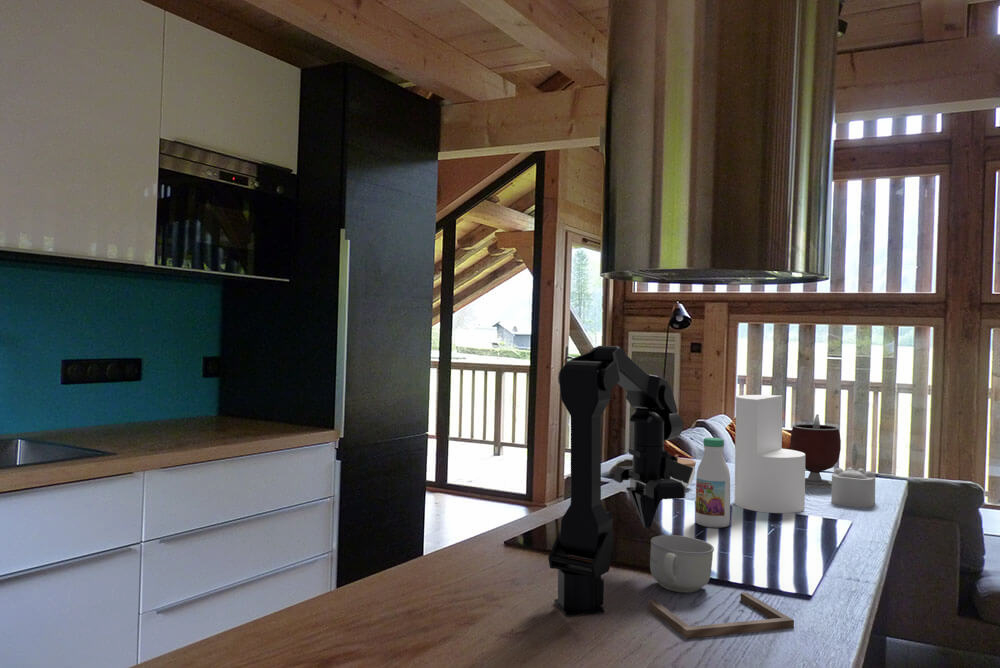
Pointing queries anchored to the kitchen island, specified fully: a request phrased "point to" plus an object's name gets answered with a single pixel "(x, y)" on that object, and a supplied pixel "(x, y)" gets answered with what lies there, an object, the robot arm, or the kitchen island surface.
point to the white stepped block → (766, 459)
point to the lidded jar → (688, 463)
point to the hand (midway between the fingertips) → (647, 527)
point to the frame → (774, 623)
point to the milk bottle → (713, 486)
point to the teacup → (680, 562)
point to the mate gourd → (817, 449)
